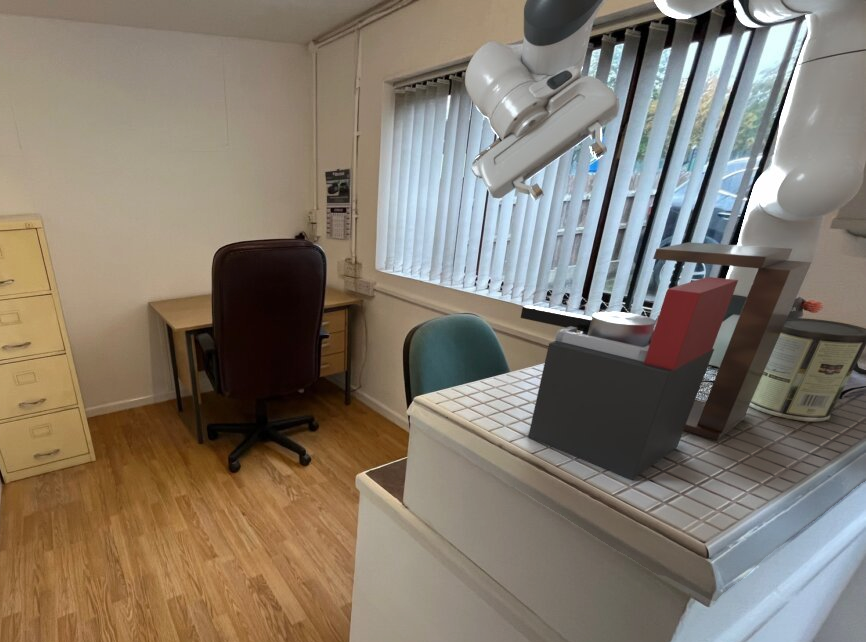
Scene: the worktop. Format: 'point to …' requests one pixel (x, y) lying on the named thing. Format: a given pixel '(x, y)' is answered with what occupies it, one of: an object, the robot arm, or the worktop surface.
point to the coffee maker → (630, 383)
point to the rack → (743, 327)
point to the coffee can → (809, 369)
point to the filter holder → (598, 324)
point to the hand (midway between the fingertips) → (569, 175)
